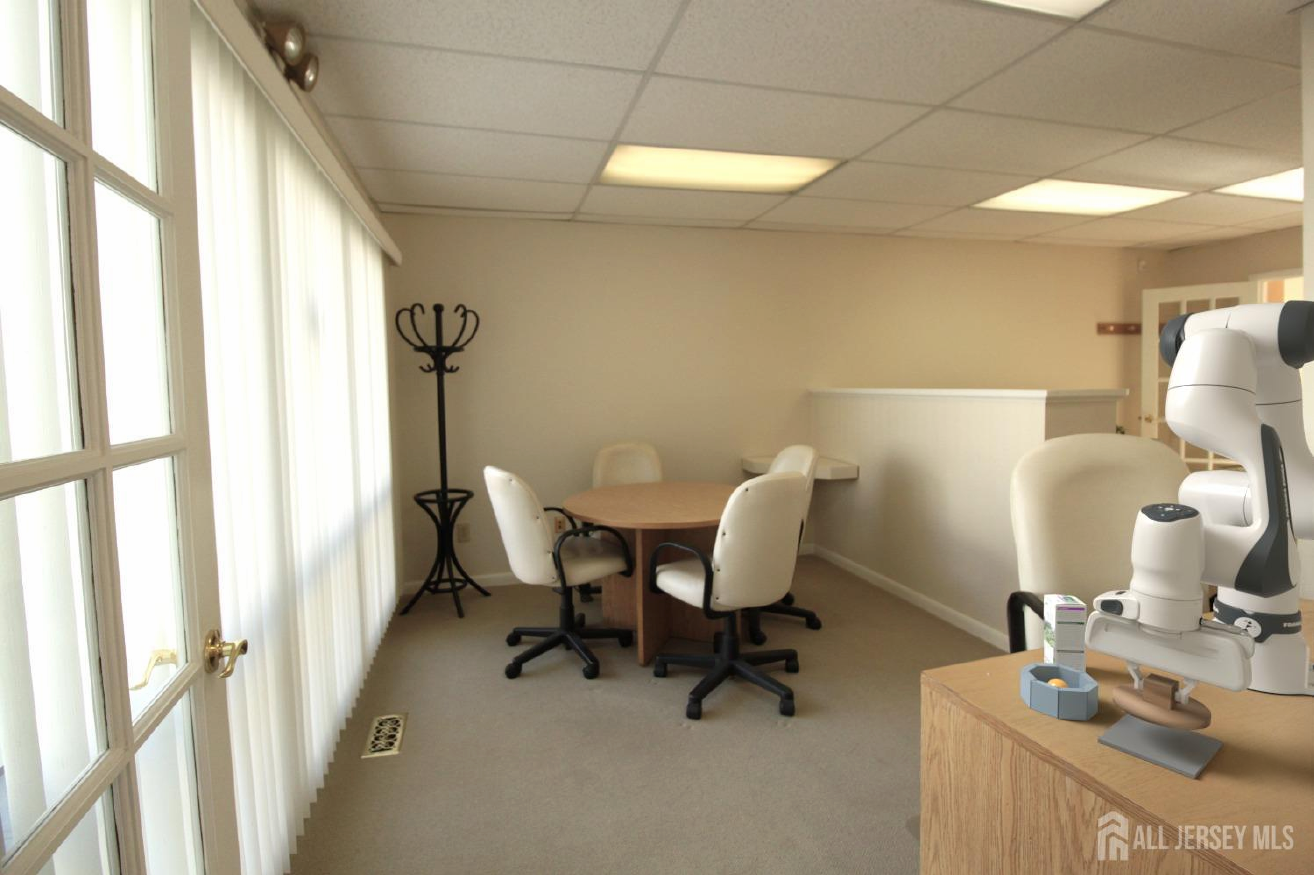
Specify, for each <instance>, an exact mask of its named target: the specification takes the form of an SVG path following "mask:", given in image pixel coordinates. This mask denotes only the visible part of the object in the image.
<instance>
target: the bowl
mask: <svg viewBox="0 0 1314 875" xmlns="http://www.w3.org/2000/svg"><path fill="white" fill-rule="evenodd" d="M1019 684H1020V685H1019V686H1020V689H1019V690H1020V691H1019V692H1020V693H1019V694H1020V695H1019V696H1020V698H1021V699H1022V701H1024V702H1025V704H1026V705H1027V706H1028V708H1030V709H1032V710H1034V711H1036V712H1038V713H1042V714H1045V715H1047V716H1049V717H1052V718H1055V719H1059V720H1072V721H1089V720H1090V719H1091V718H1092V717H1094V716H1095V715H1096V714H1097V713H1099V710H1098V709H1099V686H1100V685H1099V683H1098V682H1097V681H1096V680H1095V679H1094V678H1093V677H1092V676H1090V675H1089V674H1088V673H1087V672H1086V673H1085V672H1083V671H1080V670H1076V669H1073V668H1070V667H1067V666H1064V665H1060V664H1051V663H1043V662H1031V663H1029V664H1028V665H1025V666H1024V667H1022V668H1020V683H1019ZM1094 714H1095V715H1094ZM1093 715H1094V716H1093Z"/></svg>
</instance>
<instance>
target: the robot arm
mask: <svg viewBox="0 0 1314 875" xmlns="http://www.w3.org/2000/svg"><path fill="white" fill-rule="evenodd" d="M1159 352H1160V356H1161V359H1162V361H1163V362H1164V363H1165V364H1167V365H1168V366H1169V367H1170V368H1171V369H1172V370H1171V373H1170V376H1169V380H1168V385H1167V386H1168V387H1167V392H1166V396H1165V407H1164V408H1165V409H1164V413H1165V422H1166V423H1167V426H1168V427H1169V429H1170V430H1171V432H1173V433H1174V435H1176V436H1177V437H1178V438H1180V439H1182V440H1183V441H1185V442H1187V444H1190V445H1192V446H1195V447H1197V448H1200V449H1202V450H1204V451H1207V452H1210V453H1213V454H1216V455H1218V456H1221V457H1224V458H1226V459H1230V460H1232V461H1233V462H1235V463H1237V464H1238V465H1240V466H1242V467H1243V469H1244V470H1245V471H1237V470H1227V469H1219V470H1218V469H1216V470H1201V471H1195V472H1194V471H1193V472H1192V473H1190V474H1189V475H1188V476H1186V477H1185V479H1183V480H1182V482H1181V484H1180V485H1179V488H1178V491H1177V492H1178V493H1177V500H1178V503H1175V502H1174V503H1171V502H1162V503H1152V504H1148V505H1145V506H1143V507H1141V508H1140V509H1139V511H1138V513H1137V516H1136V520H1135V522H1134V523H1135V524H1134V528H1133V533H1132V540H1131V550H1130V551H1131V552H1130V553H1131V554H1130V561H1131V564H1132V567H1133V568H1132V569H1133V573H1132V578H1131V580H1130V582H1129V589H1124V590H1122V589H1121V590H1110V591H1106V592H1104V593H1101V594H1099V595H1098V596H1096V597H1095V598H1094V599H1093V602H1092V606H1093V609H1094V610H1093V611H1092V612H1091V613H1089V616H1088V617H1087V621H1086V633H1085V643H1086V647H1087V648H1088V650H1090V651H1092V652H1096V653H1099V654H1103V655H1105V656H1110V657H1113V658H1115V659H1116V658H1117V659H1121V660H1123V661H1126V669H1127V670H1128V671H1129V673H1130V675H1131V677H1132V678H1133V679H1134V683H1133V684H1134V689H1135V690H1138V691H1142V692H1143V680H1144V678H1145V677H1144V675H1143V673H1142V672H1141V670H1140V668H1141V667H1142V666H1144V667H1148V668H1151V669H1154V670H1158V671H1162V672H1166V673H1169V674H1173V675H1174V676H1180V677H1182V683H1183V684H1184V685H1186V686H1185V687H1184V688H1183V689H1182V688H1180V687H1179V688H1176V690H1174V691H1173V696H1174V698H1173V702H1177V703H1180V704H1183V705H1186V704H1187V703H1188V699H1189V697H1190V696H1189V694H1190V692H1191V691H1192V690H1193V689H1194V688H1195V687H1196V686H1197V685H1198V684H1200V683H1204V684H1208V685H1211V686H1213V687H1218V688H1219V689H1220V688H1221V689H1224V690H1227V691H1231V692H1234V693H1242V692H1244V691H1246V690H1247V689H1250V690H1255V691H1259V692H1266V693H1271V694H1272V693H1273V694H1279V695H1280V694H1281V695H1308V696H1314V661H1312V660H1311V661H1310V652H1311V651H1310V650H1311V649H1310V646H1308V645H1307V640H1306V639H1305V638H1304V635H1303V634H1302V632H1301V631H1302V627H1303V626H1302V624H1303V617H1302V612H1301V610H1300V609H1299V604H1300V602H1299V601H1300V586H1301V572H1302V562H1301V557H1300V552H1299V550H1298V547H1297V543H1296V539H1297V540H1303V541H1304V540H1306V541H1307V540H1309V541H1314V455H1313V453H1312V452H1311V449H1310V448H1309V445H1308V442H1307V438H1306V433H1305V432H1306V431H1305V425H1304V410H1303V408H1304V406H1303V386H1302V379H1301V373H1300V369H1302V368H1303V367H1304V366H1305V364H1307V363H1311V362H1313V361H1314V301H1312V300H1303V299H1302V300H1299V299H1297V300H1296V299H1291V300H1289V299H1288V301H1286V302H1280V301H1279V302H1258V303H1247V304H1246V303H1244V304H1238V305H1235V306H1230V307H1223V308H1221V307H1220V308H1217V309H1211V310H1206V311H1201V312H1197V313H1196V312H1194V311H1193V312H1188V313H1184V314H1181V315H1178V316H1175V317H1172V318H1171V319H1170V320H1169V321H1168V322H1167V323H1166V324H1164V325H1163V327H1162V329H1161V331H1160V336H1159ZM1201 584H1205V585H1210V586H1216V587H1217V596H1216V597H1214V602H1213V603H1212V605H1213V607H1212V609H1213V617H1214V618H1212V619H1209V618H1208V619H1207V618H1204V617H1203V610H1204V609H1203V608H1204V592H1203V589H1202V586H1201Z"/></svg>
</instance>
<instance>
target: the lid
mask: <svg viewBox="0 0 1314 875" xmlns="http://www.w3.org/2000/svg"><path fill="white" fill-rule="evenodd" d="M1143 678H1144V680H1143V692H1142V691H1138V690H1135V689H1134V683H1126V684H1124V683H1123V684H1120V685H1116V686H1115V687H1114V688H1113V690H1112V702H1113V704H1114V705H1115V706H1116V707H1117V708H1119V709H1120V710H1121V711H1122V712H1124V713H1126V714H1127V713H1128V714H1129V715H1131V716H1134V717H1136V718H1138V719H1141V720H1143V721H1146V722H1149V723H1152V724H1156V725H1159V726H1164V727H1168V728H1174V729H1182V730H1191V731H1199V730H1205V729H1206V728H1208V727H1210V726H1211V724H1212V711H1211V710H1210V708H1208V707H1207V705H1205V704H1204V703H1202V702H1201V701H1199V700H1197V699H1195V698H1193V697H1191V696H1189V699H1188V703H1187V704H1186V705H1183V704H1180V703H1177V702H1173V698H1174V696H1173V691H1174V690H1176V688H1179V689H1180V681H1179V680H1176V679H1172V678H1170V677H1166V676H1163V675H1159V674H1156V673H1152V672H1151V673H1150V674H1148V675H1147V676H1146V677H1143Z"/></svg>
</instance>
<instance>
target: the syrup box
mask: <svg viewBox="0 0 1314 875" xmlns="http://www.w3.org/2000/svg"><path fill="white" fill-rule="evenodd" d="M1043 600H1044V601H1043V602H1044V603H1043V662H1042V663H1051V664H1060V665H1064V666H1067V667H1070V668H1073V669H1076V670H1080V671H1083V672H1085V673H1087V672H1086V671H1087V645H1086V643H1085V633H1086V626H1087V621H1088V617H1087V612H1088V611H1087V610H1088V607H1087V606H1088V605H1087V604H1086V603H1084V602H1083V601H1081V600H1080V599H1079V598H1077V597H1076V596H1075V595H1072V594H1060V593H1059V594H1056V593H1054V594H1044V598H1043Z"/></svg>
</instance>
